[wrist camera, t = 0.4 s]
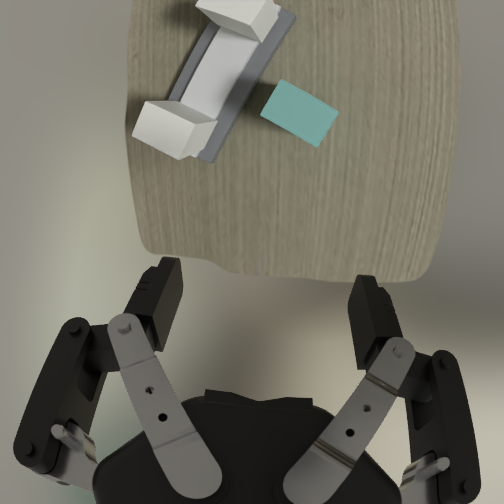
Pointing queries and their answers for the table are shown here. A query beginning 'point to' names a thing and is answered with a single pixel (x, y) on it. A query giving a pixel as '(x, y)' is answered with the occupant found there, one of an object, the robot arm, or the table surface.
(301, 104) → the block
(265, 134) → the table surface
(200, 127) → the white and grey dock
